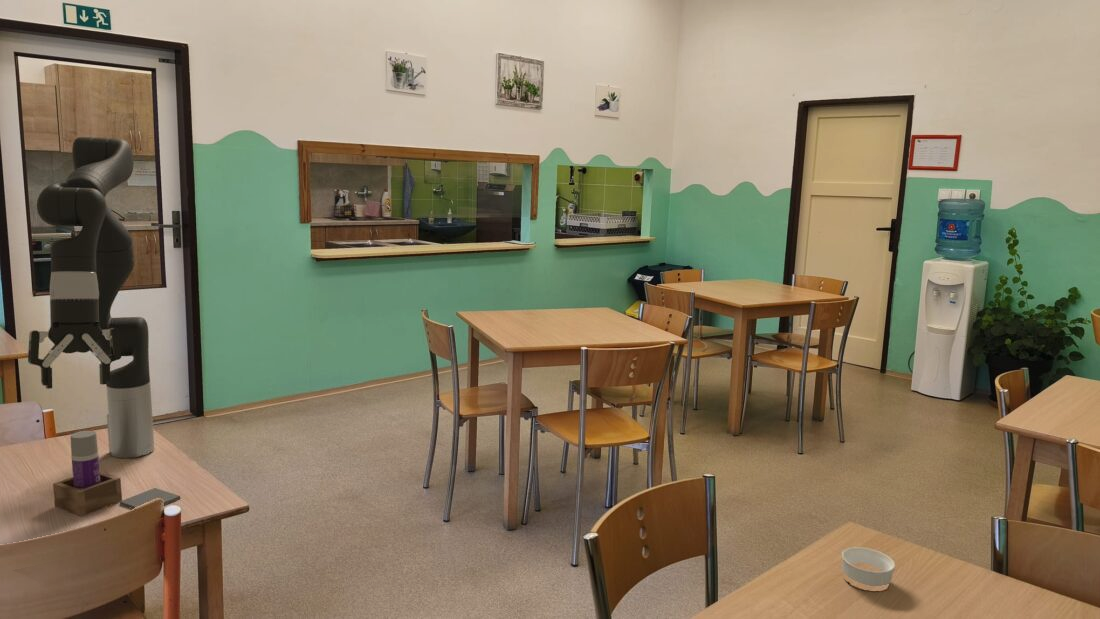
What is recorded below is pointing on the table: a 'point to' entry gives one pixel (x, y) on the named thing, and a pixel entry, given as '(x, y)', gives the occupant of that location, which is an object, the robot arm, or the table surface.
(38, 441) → the table surface
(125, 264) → the robot arm
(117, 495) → the holder
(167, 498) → the mat
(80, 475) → the container
